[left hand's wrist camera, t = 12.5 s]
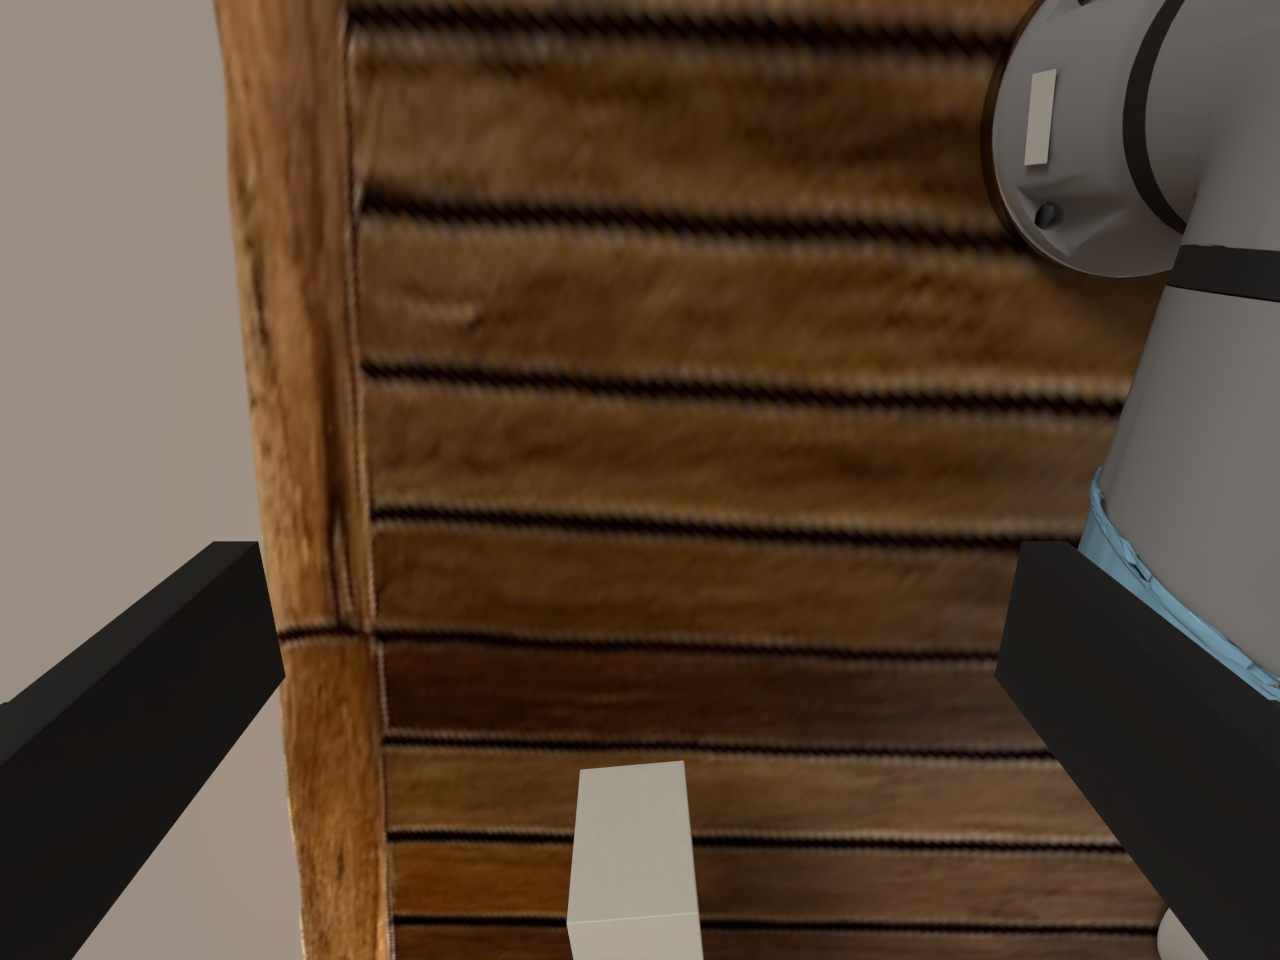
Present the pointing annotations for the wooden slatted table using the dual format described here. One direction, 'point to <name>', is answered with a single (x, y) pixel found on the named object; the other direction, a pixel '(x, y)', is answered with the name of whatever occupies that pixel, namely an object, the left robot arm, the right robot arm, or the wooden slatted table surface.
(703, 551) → the wooden slatted table surface
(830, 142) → the wooden slatted table surface
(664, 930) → the bar
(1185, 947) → the right robot arm
